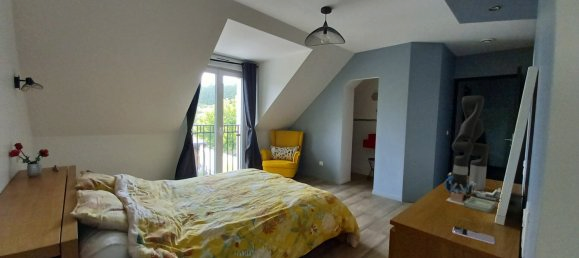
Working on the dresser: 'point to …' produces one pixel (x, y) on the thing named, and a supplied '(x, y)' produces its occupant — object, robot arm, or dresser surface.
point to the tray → (479, 204)
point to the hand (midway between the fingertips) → (458, 198)
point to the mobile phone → (474, 235)
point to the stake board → (455, 201)
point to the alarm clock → (452, 184)
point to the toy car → (487, 195)
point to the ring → (457, 196)
